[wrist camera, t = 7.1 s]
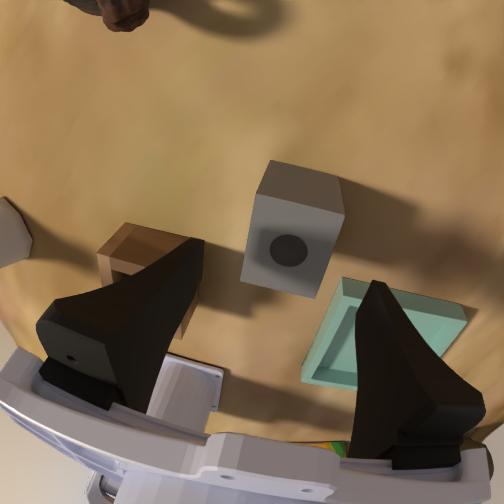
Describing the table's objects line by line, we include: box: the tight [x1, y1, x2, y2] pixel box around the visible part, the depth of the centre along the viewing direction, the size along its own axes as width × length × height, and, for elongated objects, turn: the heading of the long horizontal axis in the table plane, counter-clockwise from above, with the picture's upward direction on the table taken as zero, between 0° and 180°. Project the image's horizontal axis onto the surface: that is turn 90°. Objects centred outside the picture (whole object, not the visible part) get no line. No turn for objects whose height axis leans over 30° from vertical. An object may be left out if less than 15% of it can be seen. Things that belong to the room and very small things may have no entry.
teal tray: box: [301, 277, 468, 391], centre depth 23 cm, size 10×10×2 cm
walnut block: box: [96, 223, 199, 340], centre depth 22 cm, size 6×6×4 cm
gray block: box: [240, 160, 345, 299], centre depth 17 cm, size 5×4×5 cm
